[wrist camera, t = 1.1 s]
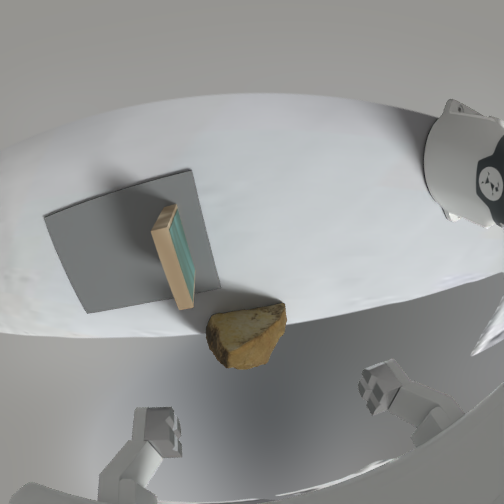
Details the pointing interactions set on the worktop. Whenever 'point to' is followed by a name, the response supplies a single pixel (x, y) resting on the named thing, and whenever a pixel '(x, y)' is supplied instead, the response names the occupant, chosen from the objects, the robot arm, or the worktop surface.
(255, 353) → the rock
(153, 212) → the mat
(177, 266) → the coaster
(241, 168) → the worktop surface
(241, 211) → the worktop surface
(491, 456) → the robot arm
